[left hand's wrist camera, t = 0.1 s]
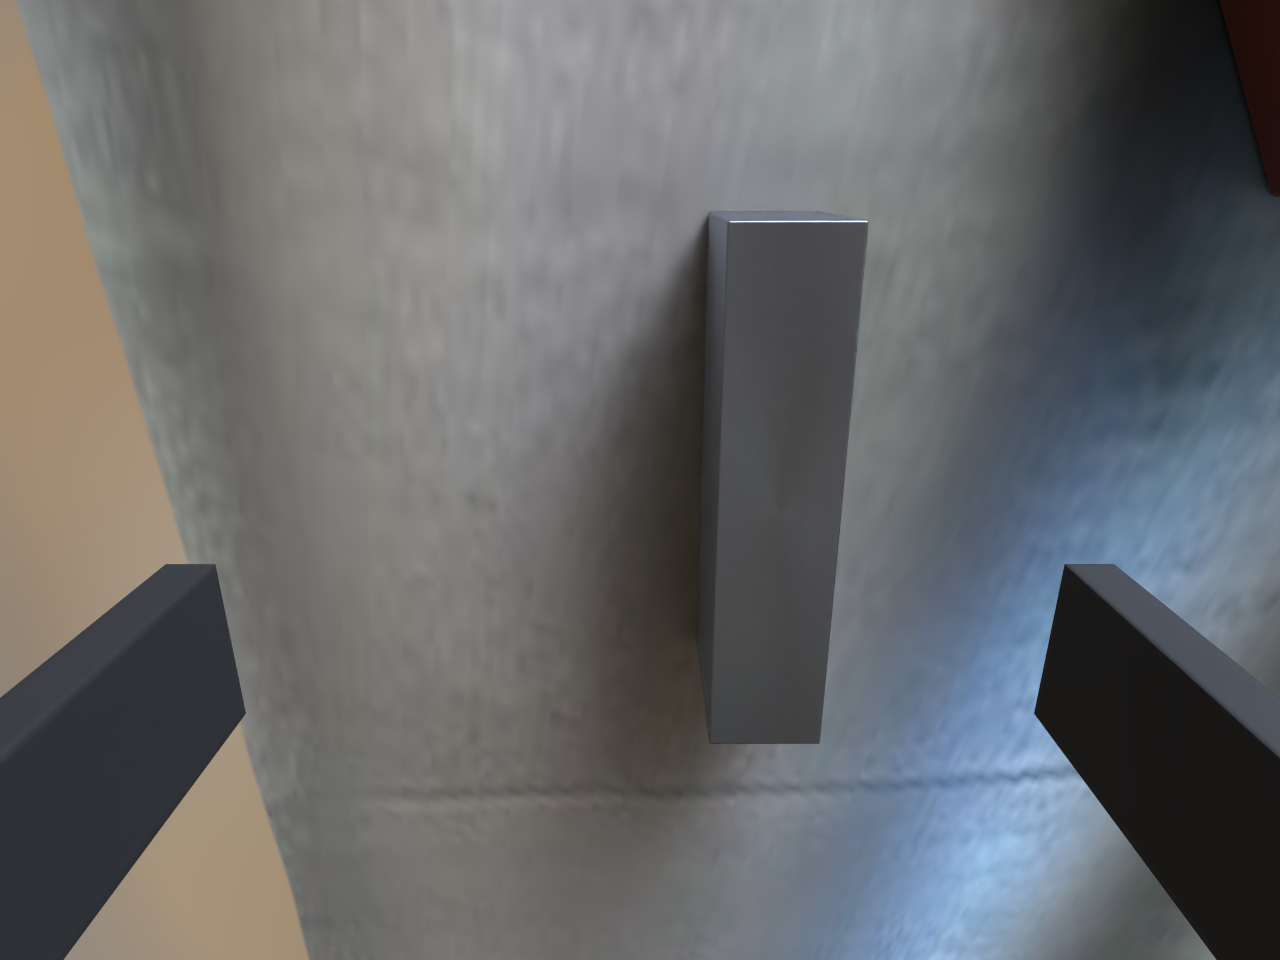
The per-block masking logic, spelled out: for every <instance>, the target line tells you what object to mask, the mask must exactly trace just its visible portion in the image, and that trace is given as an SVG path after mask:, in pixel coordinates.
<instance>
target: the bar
mask: <svg viewBox="0 0 1280 960" xmlns="http://www.w3.org/2000/svg"><path fill="white" fill-rule="evenodd" d="M868 224H869V222H868V221H867V220H862V219H857V218H852V217H846V216H841V215H835V214H830V213H824V212H819V211H719V212H709V220H708V257H707V294H706V331H705V368H704V405H703V442H702V479H701V516H700V553H699V590H698V627H697V647H698V655H699V663H700V671H701V679H702V687H703V696H704V704H705V712H706V720H707V728H708V736H709V743H710V744H819V743H820V735H821V725H822V714H823V703H824V693H825V682H826V671H827V661H828V650H829V639H830V629H831V618H832V607H833V597H834V586H835V575H836V565H837V554H838V543H839V533H840V522H841V511H842V501H843V490H844V479H845V469H846V458H847V447H848V437H849V426H850V415H851V405H852V394H853V383H854V373H855V362H856V352H857V341H858V330H859V320H860V309H861V298H862V288H863V277H864V266H865V256H866V245H867V234H868Z"/></svg>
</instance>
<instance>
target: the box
mask: <svg viewBox="0 0 1280 960" xmlns="http://www.w3.org/2000/svg"><path fill="white" fill-rule="evenodd" d="M1220 3H1221V7H1222V11H1223V15H1224V18H1225V22H1226V26H1227V30H1228V34H1229V37H1230V41H1231V45H1232V49H1233V53H1234V56H1235V60H1236V64H1237V68H1238V72H1239V76H1240V79H1241V83H1242V87H1243V91H1244V95H1245V98H1246V102H1247V106H1248V110H1249V114H1250V117H1251V121H1252V125H1253V129H1254V133H1255V136H1256V140H1257V144H1258V148H1259V152H1260V155H1261V159H1262V163H1263V167H1264V171H1265V174H1266V178H1267V182H1268V186H1269V190H1270V192H1271V194H1273V195H1274V196H1278V197H1280V0H1220Z"/></svg>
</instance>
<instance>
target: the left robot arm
mask: <svg viewBox="0 0 1280 960" xmlns="http://www.w3.org/2000/svg"><path fill="white" fill-rule="evenodd" d="M245 714H246V712H245V707H244V702H243V697H242V693H241V688H240V683H239V678H238V673H237V668H236V663H235V658H234V653H233V649H232V644H231V639H230V634H229V629H228V624H227V619H226V614H225V609H224V604H223V600H222V595H221V590H220V585H219V580H218V575H217V570H216V565H215V564H166V565H164V566H163V567H162V568H161V569H159V570H158V571H157V572H156V573H154V574H153V575H152V576H151V577H149V578H148V579H147V580H146V581H145V582H143V583H142V584H141V585H140V586H138V587H137V588H136V589H135V590H133V591H132V592H131V593H130V594H128V595H127V596H126V597H125V598H123V599H122V600H121V601H120V602H119V603H117V604H116V605H115V606H114V607H112V608H111V609H110V610H109V611H107V612H106V613H105V614H104V615H102V616H101V617H100V618H99V619H97V620H96V621H95V622H94V623H92V624H91V625H90V626H89V627H88V628H86V629H85V630H84V631H83V632H81V633H80V634H79V635H78V636H76V637H75V638H74V639H73V640H71V641H70V642H69V643H68V644H67V645H65V646H64V647H63V648H62V649H60V650H59V651H58V652H57V653H55V654H54V655H53V656H52V657H50V658H49V659H48V660H47V661H45V662H44V663H43V664H42V665H41V666H39V667H38V668H37V669H35V670H34V671H33V672H32V673H31V674H29V675H28V676H27V677H26V678H24V679H23V680H22V681H21V682H19V683H18V684H17V685H16V686H15V687H13V688H12V689H11V690H9V691H8V692H7V693H6V694H5V695H3V696H2V697H1V698H0V960H64V958H65V957H66V955H67V954H68V953H69V951H70V950H71V949H72V947H73V946H74V945H75V943H76V942H77V941H78V939H79V938H80V937H81V935H82V934H83V932H84V931H85V930H86V928H87V927H88V926H89V924H90V923H91V922H92V920H93V919H94V918H95V916H96V915H97V914H98V912H99V911H100V909H101V908H102V907H103V906H104V904H105V903H106V902H107V900H108V899H109V897H110V896H111V895H112V893H113V892H114V891H115V889H116V888H117V887H118V885H119V884H120V883H121V881H122V880H123V879H124V877H125V876H126V875H127V873H128V872H129V870H130V869H131V868H132V866H133V865H134V864H135V862H136V861H137V860H138V858H139V857H140V856H141V854H142V853H143V852H144V850H145V849H146V848H147V846H148V845H149V843H150V842H151V841H152V839H153V838H154V837H155V835H156V834H157V833H158V831H159V830H160V829H161V827H162V826H163V825H164V823H165V822H166V821H167V819H168V818H169V817H170V815H171V814H172V812H173V811H174V810H175V808H176V807H177V806H178V804H179V803H180V802H181V800H182V799H183V797H184V796H185V795H186V794H187V792H188V791H189V790H190V788H191V787H192V785H193V784H194V783H195V781H196V780H197V779H198V777H199V776H200V775H201V773H202V772H203V771H204V769H205V768H206V767H207V765H208V764H209V763H210V761H211V760H212V758H213V757H214V756H215V754H216V753H217V752H218V750H219V749H220V748H221V746H222V745H223V744H224V742H225V741H226V740H227V738H228V737H229V736H230V734H231V733H232V731H233V730H234V729H235V727H236V726H237V725H238V723H239V722H240V721H241V719H242V718H243V717H244V715H245ZM1034 714H1035V715H1036V717H1037V718H1038V719H1039V721H1040V722H1041V723H1042V725H1043V726H1044V727H1045V729H1046V730H1047V731H1048V733H1049V734H1050V736H1051V737H1052V738H1053V740H1054V741H1055V742H1056V744H1057V745H1058V746H1059V748H1060V749H1061V750H1062V752H1063V753H1064V754H1065V756H1066V757H1067V758H1068V760H1069V761H1070V763H1071V764H1072V765H1073V767H1074V768H1075V769H1076V771H1077V772H1078V773H1079V775H1080V776H1081V777H1082V779H1083V780H1084V781H1085V783H1086V784H1087V785H1088V787H1089V788H1090V790H1091V791H1092V792H1093V794H1094V795H1095V796H1096V798H1097V799H1098V800H1099V802H1100V803H1101V804H1102V806H1103V807H1104V808H1105V810H1106V811H1107V812H1108V814H1109V815H1110V817H1111V818H1112V819H1113V821H1114V822H1115V823H1116V825H1117V826H1118V827H1119V829H1120V830H1121V831H1122V833H1123V834H1124V835H1125V837H1126V838H1127V839H1128V841H1129V842H1130V843H1131V845H1132V846H1133V848H1134V849H1135V850H1136V852H1137V853H1138V854H1139V856H1140V857H1141V858H1142V860H1143V861H1144V862H1145V864H1146V865H1147V866H1148V868H1149V869H1150V870H1151V872H1152V873H1153V875H1154V876H1155V877H1156V879H1157V880H1158V881H1159V883H1160V884H1161V885H1162V887H1163V888H1164V889H1165V891H1166V892H1167V893H1168V895H1169V896H1170V897H1171V899H1172V900H1173V902H1174V903H1175V904H1176V906H1177V907H1178V908H1179V910H1180V911H1181V912H1182V914H1183V915H1184V916H1185V918H1186V919H1187V920H1188V922H1189V923H1190V924H1191V926H1192V927H1193V929H1194V930H1195V931H1196V933H1197V934H1198V935H1199V937H1200V938H1201V939H1202V941H1203V942H1204V943H1205V945H1206V946H1207V947H1208V949H1209V950H1210V951H1211V953H1212V954H1213V955H1214V957H1215V958H1216V960H1280V698H1279V697H1278V696H1277V695H1275V694H1274V693H1273V692H1272V691H1271V690H1269V689H1268V688H1267V687H1266V686H1264V685H1263V684H1262V683H1261V682H1259V681H1258V680H1257V679H1256V678H1254V677H1253V676H1252V675H1251V674H1249V673H1248V672H1247V671H1246V670H1245V669H1243V668H1242V667H1241V666H1240V665H1238V664H1237V663H1236V662H1235V661H1233V660H1232V659H1231V658H1230V657H1228V656H1227V655H1226V654H1225V653H1223V652H1222V651H1221V650H1220V649H1218V648H1217V647H1216V646H1215V645H1214V644H1212V643H1211V642H1210V641H1209V640H1207V639H1206V638H1205V637H1204V636H1202V635H1201V634H1200V633H1199V632H1197V631H1196V630H1195V629H1194V628H1192V627H1191V626H1190V625H1189V624H1188V623H1186V622H1185V621H1184V620H1183V619H1181V618H1180V617H1179V616H1178V615H1176V614H1175V613H1174V612H1173V611H1171V610H1170V609H1169V608H1168V607H1166V606H1165V605H1164V604H1163V603H1161V602H1160V601H1159V600H1158V599H1157V598H1155V597H1154V596H1153V595H1152V594H1150V593H1149V592H1148V591H1147V590H1145V589H1144V588H1143V587H1142V586H1140V585H1139V584H1138V583H1137V582H1135V581H1134V580H1133V579H1132V578H1131V577H1129V576H1128V575H1127V574H1126V573H1124V572H1123V571H1122V570H1121V569H1119V568H1118V567H1117V566H1116V565H1114V564H1065V565H1064V570H1063V575H1062V580H1061V585H1060V590H1059V595H1058V600H1057V604H1056V609H1055V614H1054V619H1053V624H1052V629H1051V634H1050V639H1049V644H1048V649H1047V653H1046V658H1045V663H1044V668H1043V673H1042V678H1041V683H1040V688H1039V693H1038V697H1037V702H1036V707H1035V712H1034Z"/></svg>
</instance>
